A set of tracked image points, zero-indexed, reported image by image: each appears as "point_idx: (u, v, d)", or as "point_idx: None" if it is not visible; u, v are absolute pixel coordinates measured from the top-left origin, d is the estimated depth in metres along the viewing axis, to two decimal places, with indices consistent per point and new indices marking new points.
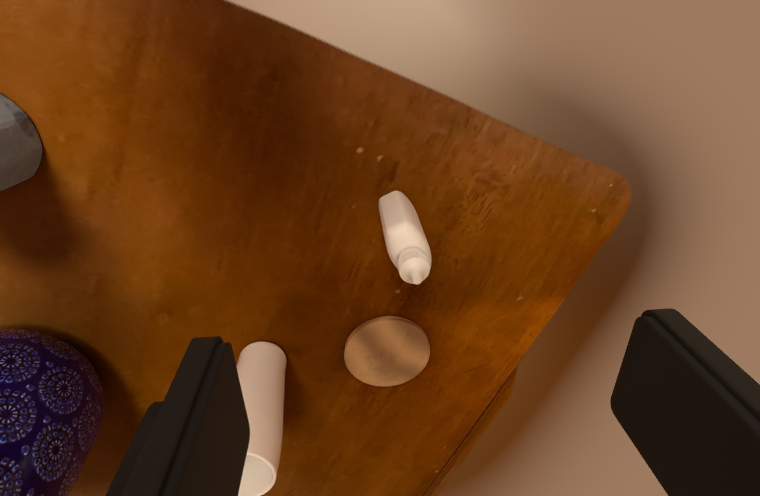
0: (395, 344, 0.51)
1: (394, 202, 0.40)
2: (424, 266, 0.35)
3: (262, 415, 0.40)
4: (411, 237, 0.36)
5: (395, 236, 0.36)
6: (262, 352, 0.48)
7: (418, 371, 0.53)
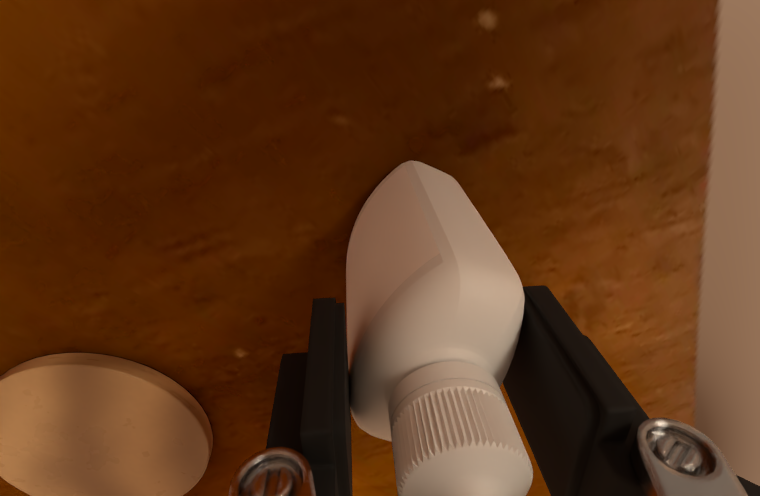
0: (132, 441, 0.20)
1: (462, 200, 0.13)
2: None
3: None
4: (503, 345, 0.10)
5: (470, 303, 0.09)
6: None
7: None
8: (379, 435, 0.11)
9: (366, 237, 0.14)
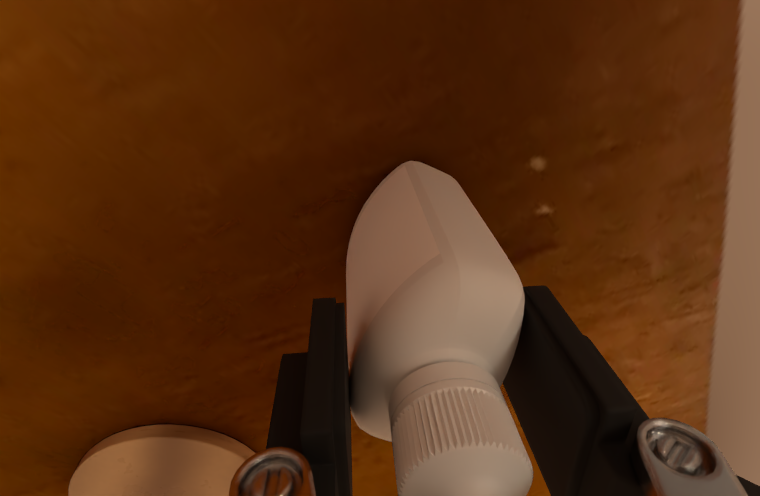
0: None
1: (462, 200, 0.13)
2: None
3: None
4: (503, 345, 0.10)
5: (470, 303, 0.09)
6: None
7: None
8: (379, 435, 0.11)
9: (366, 237, 0.14)
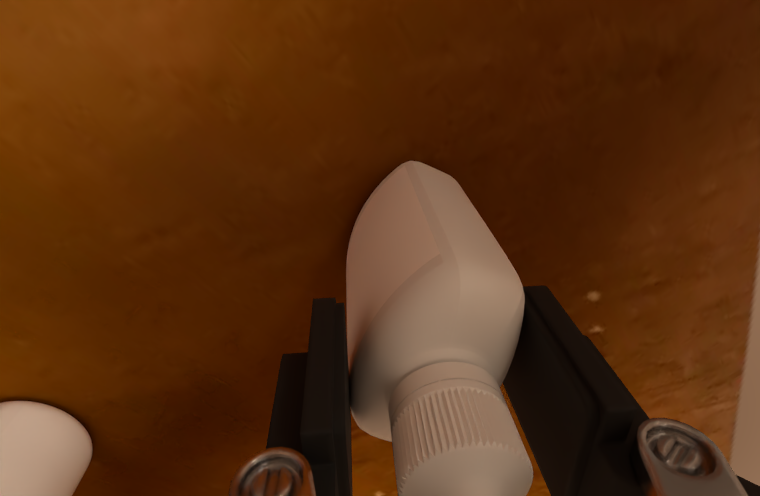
0: None
1: (462, 200, 0.13)
2: None
3: None
4: (503, 345, 0.10)
5: (470, 303, 0.09)
6: (53, 455, 0.19)
7: None
8: (379, 435, 0.11)
9: (366, 237, 0.14)
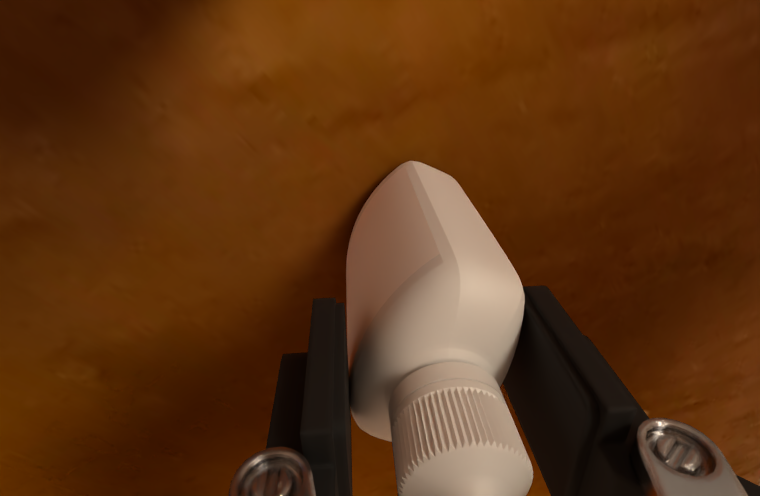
0: None
1: (462, 200, 0.13)
2: None
3: None
4: (503, 345, 0.10)
5: (470, 303, 0.09)
6: None
7: None
8: (379, 435, 0.11)
9: (366, 237, 0.14)
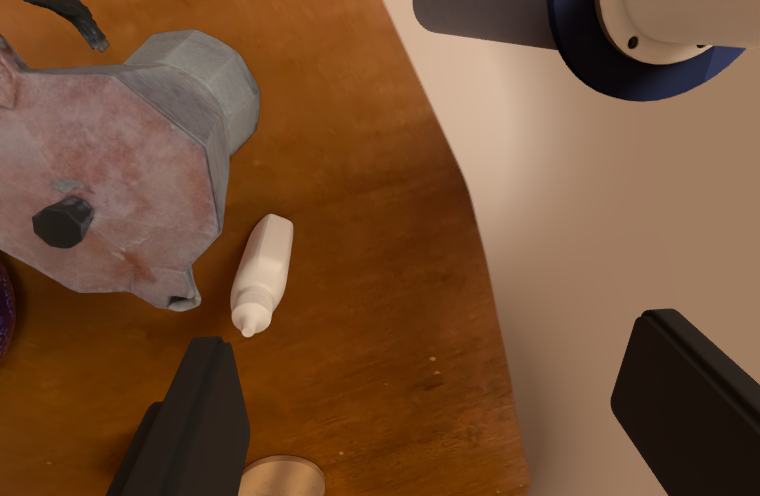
0: (296, 488, 0.51)
1: (283, 232, 0.34)
2: (264, 322, 0.28)
3: None
4: (275, 282, 0.30)
5: (261, 268, 0.29)
6: None
7: None
8: None
9: (246, 247, 0.34)
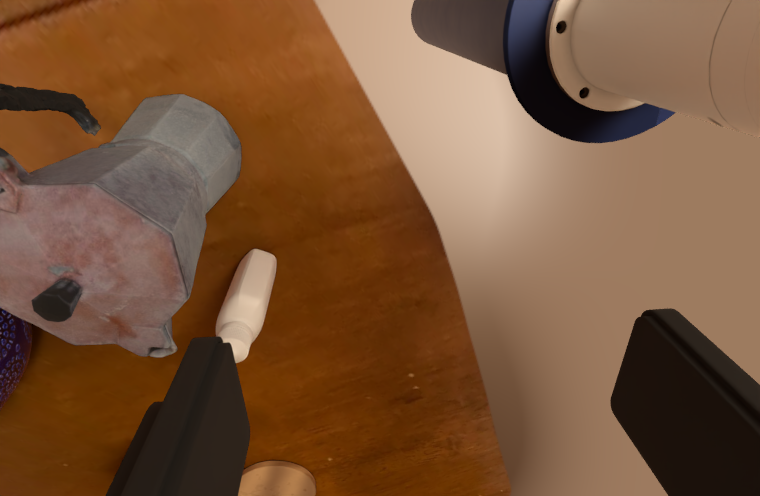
0: (288, 490, 0.55)
1: (264, 268, 0.37)
2: (242, 354, 0.32)
3: None
4: (253, 317, 0.34)
5: (241, 305, 0.33)
6: None
7: None
8: None
9: (232, 280, 0.38)
